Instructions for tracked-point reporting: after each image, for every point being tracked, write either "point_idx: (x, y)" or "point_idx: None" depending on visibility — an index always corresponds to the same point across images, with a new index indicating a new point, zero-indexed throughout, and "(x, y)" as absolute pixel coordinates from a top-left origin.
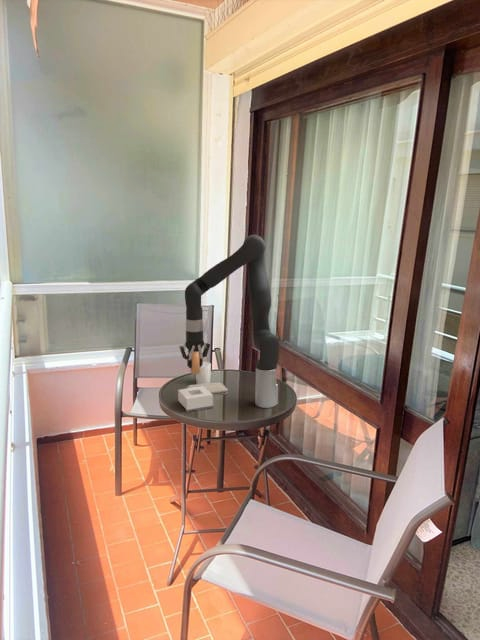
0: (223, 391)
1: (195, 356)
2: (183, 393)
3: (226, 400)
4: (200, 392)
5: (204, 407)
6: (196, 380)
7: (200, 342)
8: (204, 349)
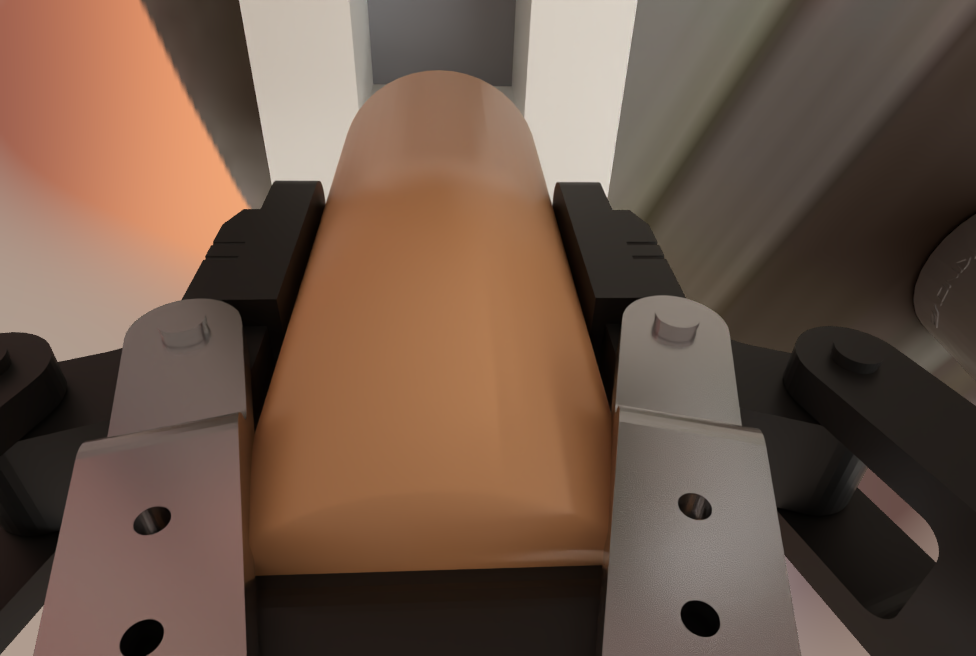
0: None
1: None
2: (267, 20)
3: (807, 32)
4: (527, 16)
5: None
6: None
7: None
8: (972, 594)
